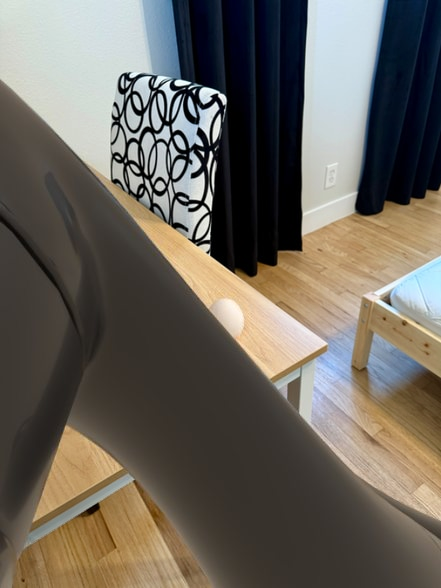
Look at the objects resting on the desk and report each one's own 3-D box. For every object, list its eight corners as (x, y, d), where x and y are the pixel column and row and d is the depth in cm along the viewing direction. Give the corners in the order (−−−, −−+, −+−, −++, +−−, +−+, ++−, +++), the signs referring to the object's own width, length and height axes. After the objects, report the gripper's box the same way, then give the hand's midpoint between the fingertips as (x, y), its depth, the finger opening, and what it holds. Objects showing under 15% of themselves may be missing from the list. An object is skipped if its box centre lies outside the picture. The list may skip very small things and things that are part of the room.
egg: (200, 331, 70) (198, 294, 66) (234, 321, 72) (234, 285, 67) (214, 356, 66) (212, 319, 61) (250, 344, 68) (250, 308, 63)
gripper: (304, 363, 34) (170, 281, 43) (163, 492, 26) (37, 357, 35) (296, 421, 38) (177, 335, 47) (175, 545, 30) (61, 414, 40)
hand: (118, 345), depth 41 cm, fingers open, 8 cm apart
